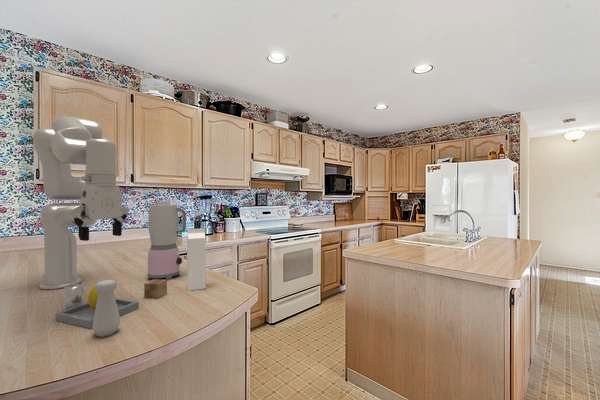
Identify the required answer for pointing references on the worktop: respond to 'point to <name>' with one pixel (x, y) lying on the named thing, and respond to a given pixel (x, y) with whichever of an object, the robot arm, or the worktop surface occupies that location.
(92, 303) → the lemon
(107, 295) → the salt shaker
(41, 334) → the worktop surface
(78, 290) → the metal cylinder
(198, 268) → the milk
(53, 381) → the worktop surface
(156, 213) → the blender
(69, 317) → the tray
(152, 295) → the walnut block
